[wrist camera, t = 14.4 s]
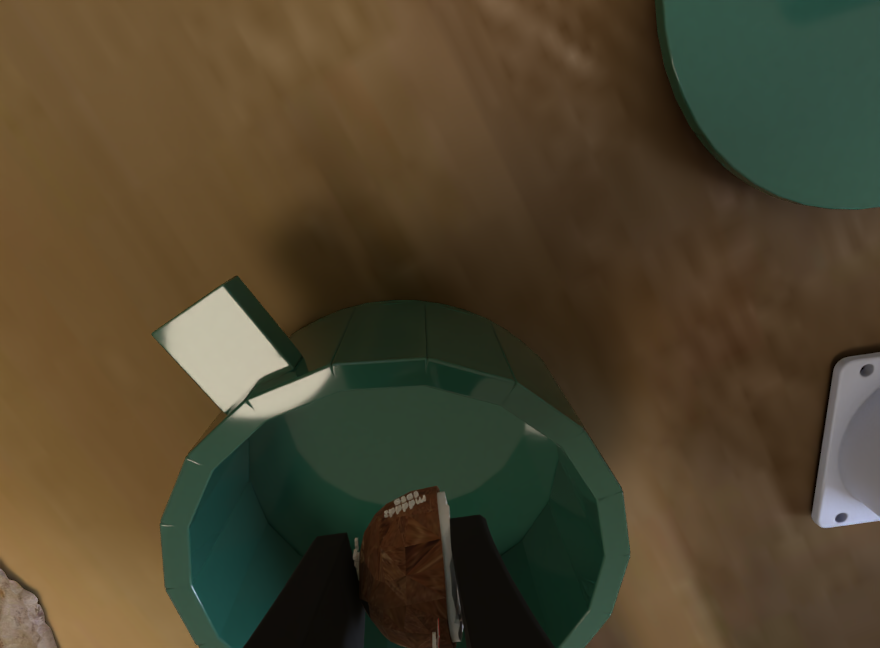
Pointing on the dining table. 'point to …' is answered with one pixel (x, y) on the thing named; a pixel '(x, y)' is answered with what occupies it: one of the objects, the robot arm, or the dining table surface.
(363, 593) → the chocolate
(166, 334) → the pot
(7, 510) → the dining table surface
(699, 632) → the dining table surface
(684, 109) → the pot lid
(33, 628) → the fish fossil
